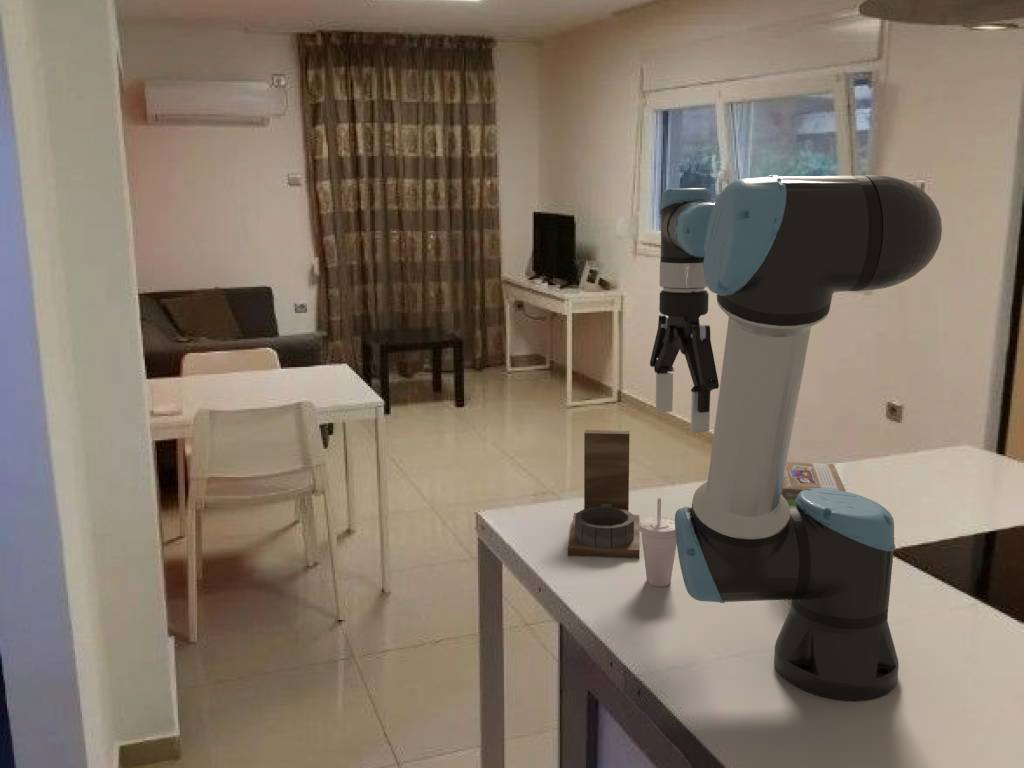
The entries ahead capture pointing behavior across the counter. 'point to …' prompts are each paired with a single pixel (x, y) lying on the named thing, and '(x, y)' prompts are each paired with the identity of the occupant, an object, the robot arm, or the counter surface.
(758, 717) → the counter surface
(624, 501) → the cup bracket
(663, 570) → the smoothie
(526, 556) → the counter surface
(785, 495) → the tea box
